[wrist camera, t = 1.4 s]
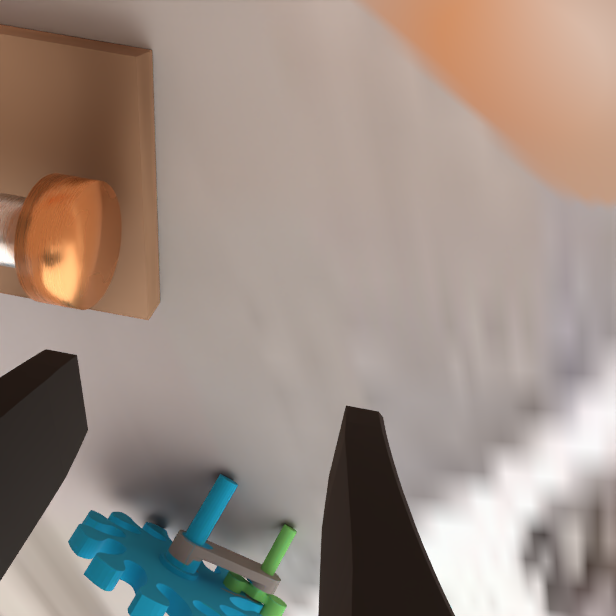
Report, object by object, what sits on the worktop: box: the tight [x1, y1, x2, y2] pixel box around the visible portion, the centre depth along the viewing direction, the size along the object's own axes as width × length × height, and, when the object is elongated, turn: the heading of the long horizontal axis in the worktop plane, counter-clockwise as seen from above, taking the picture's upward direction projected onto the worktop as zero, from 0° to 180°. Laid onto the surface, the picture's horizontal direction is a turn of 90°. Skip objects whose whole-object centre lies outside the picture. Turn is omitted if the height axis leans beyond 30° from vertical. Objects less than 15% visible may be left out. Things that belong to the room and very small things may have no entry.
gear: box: [68, 474, 296, 616], centre depth 25 cm, size 11×6×10 cm
